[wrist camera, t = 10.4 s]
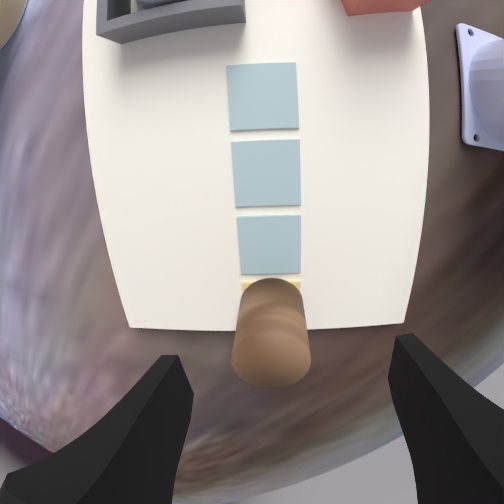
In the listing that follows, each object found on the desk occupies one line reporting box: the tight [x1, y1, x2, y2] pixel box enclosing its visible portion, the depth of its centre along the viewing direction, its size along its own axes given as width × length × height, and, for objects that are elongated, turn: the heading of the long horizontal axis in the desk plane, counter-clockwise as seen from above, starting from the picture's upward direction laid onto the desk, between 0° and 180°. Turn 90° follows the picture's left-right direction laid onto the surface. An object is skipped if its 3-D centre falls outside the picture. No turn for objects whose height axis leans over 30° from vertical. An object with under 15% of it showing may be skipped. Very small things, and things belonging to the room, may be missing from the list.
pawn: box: [231, 278, 311, 389], centre depth 16 cm, size 4×4×5 cm
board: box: [83, 0, 429, 331], centre depth 14 cm, size 19×25×4 cm
